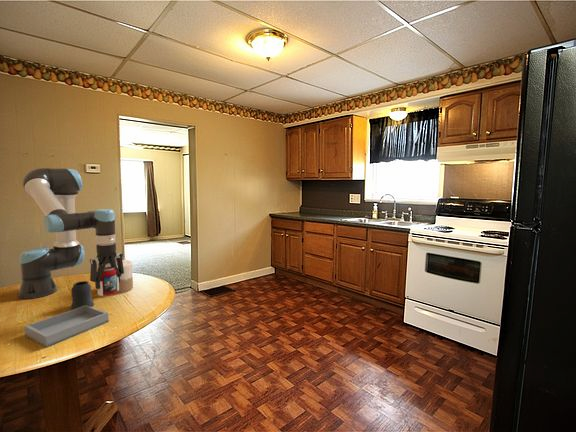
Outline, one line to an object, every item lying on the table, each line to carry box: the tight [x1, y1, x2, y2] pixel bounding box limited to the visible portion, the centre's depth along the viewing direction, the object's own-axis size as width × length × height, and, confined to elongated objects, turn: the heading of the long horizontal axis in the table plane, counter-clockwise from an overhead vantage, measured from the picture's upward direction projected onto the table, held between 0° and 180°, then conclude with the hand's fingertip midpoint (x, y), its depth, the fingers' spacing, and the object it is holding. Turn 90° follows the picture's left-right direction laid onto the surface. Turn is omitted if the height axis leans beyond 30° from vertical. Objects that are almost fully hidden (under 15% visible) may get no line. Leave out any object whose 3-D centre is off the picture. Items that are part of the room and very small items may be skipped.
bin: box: [24, 305, 110, 348], centre depth 119 cm, size 16×22×4 cm
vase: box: [102, 256, 134, 296], centre depth 160 cm, size 15×15×17 cm
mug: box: [70, 280, 95, 310], centre depth 140 cm, size 12×9×11 cm
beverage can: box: [100, 267, 117, 297], centre depth 136 cm, size 7×7×12 cm
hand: (108, 292), depth 137 cm, fingers closed on beverage can, 7 cm apart
